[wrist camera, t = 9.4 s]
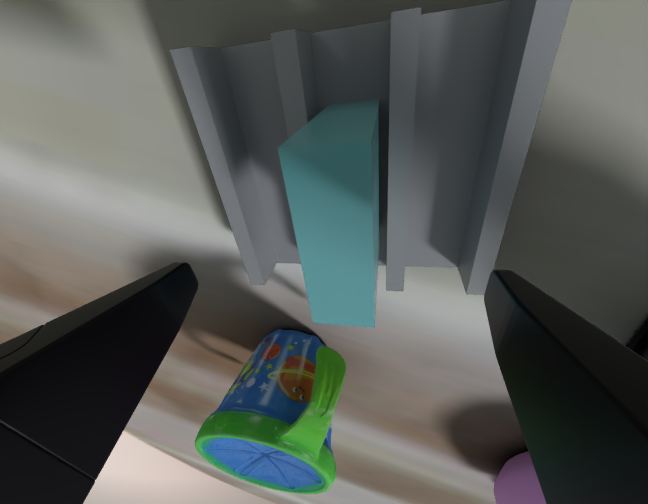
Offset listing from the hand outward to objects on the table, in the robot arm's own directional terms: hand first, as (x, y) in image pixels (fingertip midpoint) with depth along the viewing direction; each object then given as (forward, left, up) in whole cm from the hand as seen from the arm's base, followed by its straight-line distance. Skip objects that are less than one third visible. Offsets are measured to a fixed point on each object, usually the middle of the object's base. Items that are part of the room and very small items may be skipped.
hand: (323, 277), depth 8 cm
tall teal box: (0, 0, -9) cm, 9 cm away
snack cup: (-19, +7, -10) cm, 22 cm away
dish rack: (0, 0, -10) cm, 10 cm away
